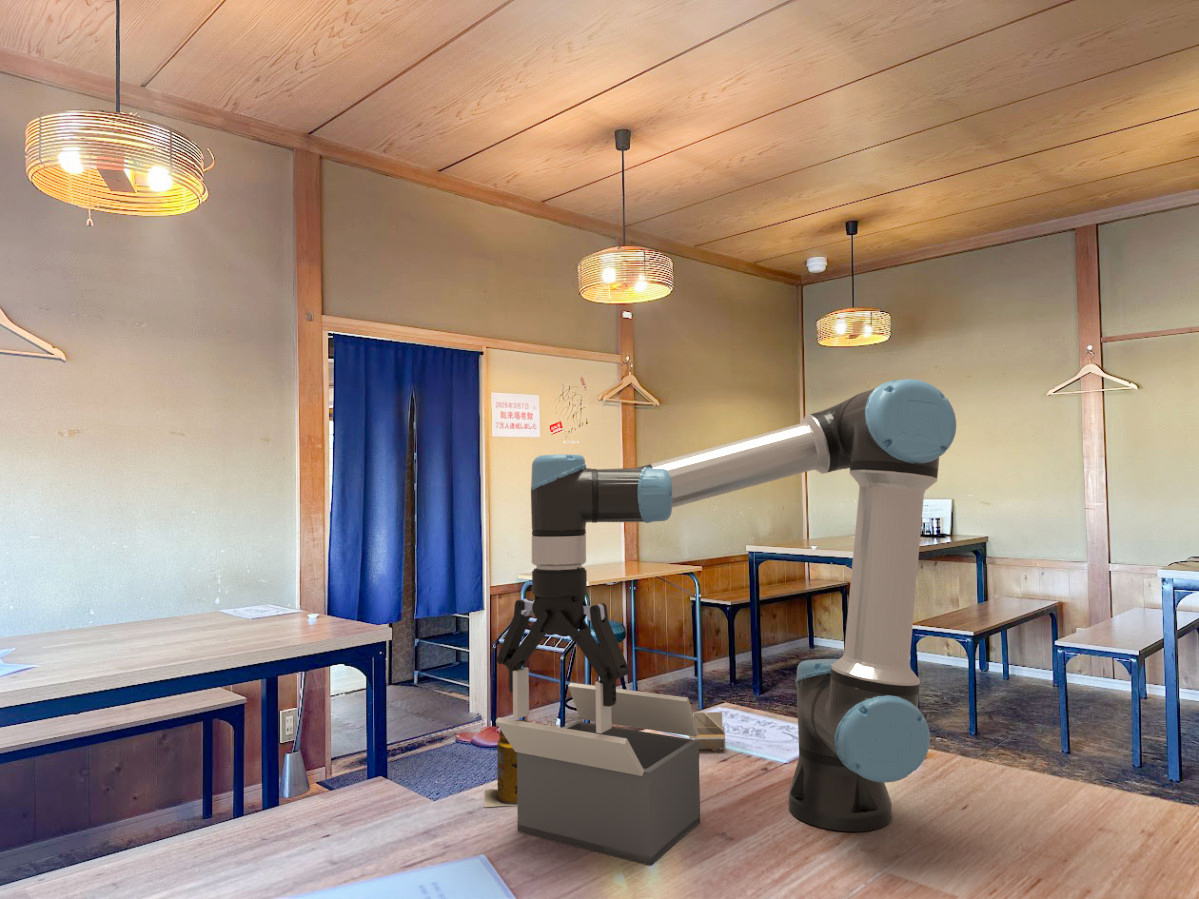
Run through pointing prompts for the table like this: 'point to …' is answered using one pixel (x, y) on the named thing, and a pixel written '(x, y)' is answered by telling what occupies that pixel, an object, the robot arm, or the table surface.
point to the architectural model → (709, 730)
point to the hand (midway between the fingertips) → (561, 723)
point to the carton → (614, 797)
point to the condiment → (504, 776)
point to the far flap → (639, 710)
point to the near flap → (571, 745)
